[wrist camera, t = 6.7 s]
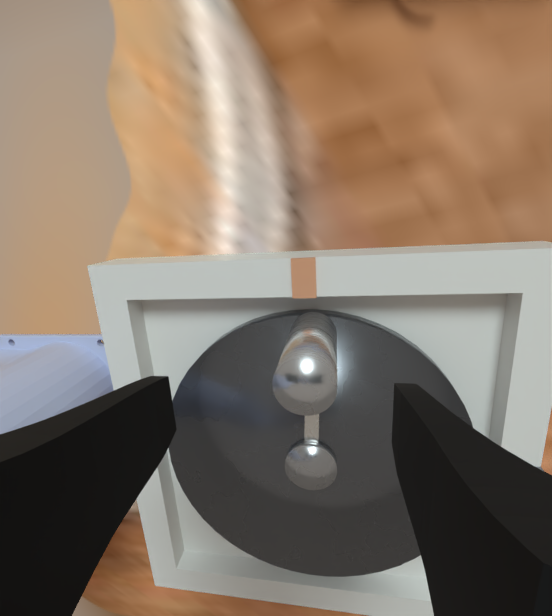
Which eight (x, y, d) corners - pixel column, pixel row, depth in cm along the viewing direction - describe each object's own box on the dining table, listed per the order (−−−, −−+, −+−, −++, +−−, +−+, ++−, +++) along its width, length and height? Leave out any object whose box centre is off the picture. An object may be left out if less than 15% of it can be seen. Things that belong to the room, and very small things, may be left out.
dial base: (171, 550, 28) (153, 589, 25) (117, 258, 22) (83, 266, 19) (490, 587, 24) (512, 640, 21) (543, 241, 17) (585, 247, 15)
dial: (448, 577, 22) (494, 727, 16) (188, 538, 25) (138, 652, 19) (494, 311, 17) (588, 373, 11) (161, 300, 20) (80, 344, 14)
